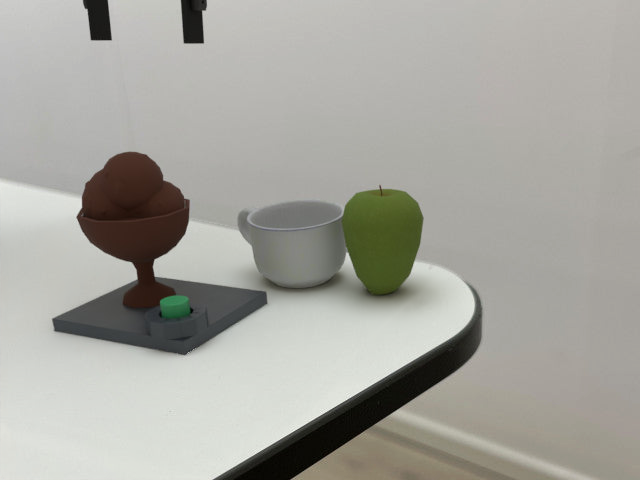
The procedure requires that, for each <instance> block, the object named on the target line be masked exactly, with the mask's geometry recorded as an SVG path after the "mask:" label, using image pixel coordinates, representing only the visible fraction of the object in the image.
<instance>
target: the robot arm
mask: <svg viewBox="0 0 640 480" xmlns="http://www.w3.org/2000/svg"><path fill="white" fill-rule="evenodd" d="M82 4H83V7H84V9H85V10H87V18H88V28H89V36H90V41H102V42H103V41H113V38H112V37H113V36H112V27H111V18H110V17H111V16H110V10H109V8H110V7H109V0H82ZM207 7H208V0H180V8H181V9H180V11H181V23H182V25H181V27H182V40H183V44H184V45H185V44H187V45H188V44H189V45H191V44H193V45H194V44H195V45H196V44H198V45H199V44H201V45H202V44H205V37H204V36H205V35H204V21H203V19H204V18H203V17H204V16H203V12H206V11H207V9H208V8H207Z"/></svg>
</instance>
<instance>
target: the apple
mask: <svg viewBox="0 0 640 480" xmlns="http://www.w3.org/2000/svg"><path fill="white" fill-rule="evenodd" d="M378 188H379V189H369V190H364V191H363V190H362V191H359V192H355V194H353V196H352V197H351V198H349V200H348V201H346V204H345V205H344V213H343V217H342V221H341V222H342V227H343V233H344V238H345V243H346V251H347V253H348V256H349V259H350V261H351V264H352V267H353V270H354V273H355V276H356V277H357V278H358V280H359V281H360V282H361V283H362V284H363V286H364V287H365V288H366V290H367V291H368V292H369V293H370V295H374V296H381V295H382V296H383V295H388V294H391V293H393V292H395V291H398V289H399V288H400V287H401V286H402V285H403V284H404V283H405V281H406V280H407V279H409V277H410V276H411V273H412V270H413V268H414V264H415V262H416V258H417V255H418V252H419V249H420V246H421V242H422V241H421V240H422V235H423V234H422V233H423V225H424V215H423V212H422V210H421V207H420V205H419V202H418V201H417V200H416V199H415V198H413V197H412V196H411V195H410V194H409V193H408V192H407V191H404V190H400V189H393V188H382V185H381V184H379V185H378Z"/></svg>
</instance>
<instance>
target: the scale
mask: <svg viewBox="0 0 640 480" xmlns="http://www.w3.org/2000/svg"><path fill="white" fill-rule="evenodd" d="M155 280H156V281H157V282H159V283H162V284H164V285H167V286H169V287H172V288H174V290H175V292H176V296H186V297H187V298H188V299H189V305H190V313H191V314H190V315H188V316H185V317H181V318H172V319H167V318H162V313H161V307H160V305H158V306H154V307H149V308H132V307H129V306H127V305H124V304H123V297H124V293H125V292H127V291H128V290H129V289H131V288H132V287H134V286H135V285H136V284H138V278H137V279H135V280H132V281H131V282H129V283H126V284H124V285H122V286H119V287H118V288H116V289H113V290H111V291H109V292H107V293H105V294H102V295H100V296H98V297H96V298H94V299H91V300H90V301H88V302H85V303H83V304H81V305H79V306H76V307H75V308H71V309H70V310H68V311H66V312H63V313H61V314H59V315H57V316H55V317H52V318H51V322H52V326H53V331H54V332H58V333H62V334H68V335H74V336H79V337H84V338H90V339H95V340H102V341H106V342H111V343H118V344H122V345H123V344H124V345H128V346H133V347H137V348H138V347H139V348H144V349H150V350H155V351H160V352H165V353H171V354H176V355H182V356H187V355H188V354H189V353H188V352H190V351H191V352H193V351H194V350H196V349H197V348H199V347H200V345H201V346H202V345H204V344H205V343H207V342H208V341H210V340H212V339H213V338H216V336H219V334H221V333H223V332H224V331H226V330H228V329H230V328H231V327H233V326H234V325H236V324H237V323H239V322H240V321H242V320H244V319H246V318H247V317H248V316H250V315H252V314H253V313H255V312H256V311H258V310H259V309H261V308H262V307H264V306H266V305H267V304H268V293H267V291H265V290H256V289H251V288H243V287H234V286H228V285H221V284H213V283H205V282H197V281H191V280H183V279H177V278H168V277H162V276H155ZM195 348H196V349H195ZM193 349H194V350H193ZM192 350H193V351H192ZM191 352H190V353H191ZM177 353H178V354H177ZM187 353H188V354H187Z"/></svg>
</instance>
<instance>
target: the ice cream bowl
mask: <svg viewBox="0 0 640 480" xmlns="http://www.w3.org/2000/svg"><path fill="white" fill-rule="evenodd" d="M190 201H191V200H190V199H188V198H185V195H184V194H183V192H182V190H181V189H180V188H179V187H177V186H176V185H174V183H172V182H170V181H167V180H164V174H163V172H162V169H161V167H160V166H159V165H158V163H157V162H156V161H154V159H152V157H150V156H149V155H148V154H145V153H142V152H139V151H124V152H121V153H120V152H119V153H117V154H115V155H113V156H111V157H110V158H108V160H107V161H106V163H105V164H104V166H103V168H101V169H100V170H97V172H95V173H94V174H93V176H91V178H90V179H89V180H88V181H86V182H85V183H84V189H83V192H82V195H81V208H80V209H79V211H78V212H77V215H76V216H75V218H76V220H77V222H78V225H79V227H80V230H81V232H82V233H83V235H84V236H85V238H86V239H87V240H88V241H89V243H90V244H92V245H93V246H94V247H96V248H97V249H98V250H100V251H101V252H103V253H104V254H106V255H109V256H111V257H113V258H115V259H117V260H121V261H124V262H128V263H132V265H133V267H134V268H135V270H136V278H137V279H138V284H136V285H135V286H134V287H132V288H131V289H129V290H128V291H127V292H125V293H124V297H123V304H124V305H127V306H129V307H132V308H149V307H154V306H158V305H160V301H161V300H162V299H164V298H166V297H170V296H176V292H175V290H174V288H172V287H169V286H167V285H164V284H162V283H159V282H157V281H156V280H155V277H156V275H155V270H154V263H155V260H157V259H159V258H161V257H164V256H165V255H167V254H168V253H170V252H171V251H172V250H173V249H174V248H176V247H177V245H178V244H179V243H180V241H181V240H182V239H183V237H184V236H185V235H186V232H187V230H188V226H189V222H190V209H191V208H190V207H191V202H190Z"/></svg>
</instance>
